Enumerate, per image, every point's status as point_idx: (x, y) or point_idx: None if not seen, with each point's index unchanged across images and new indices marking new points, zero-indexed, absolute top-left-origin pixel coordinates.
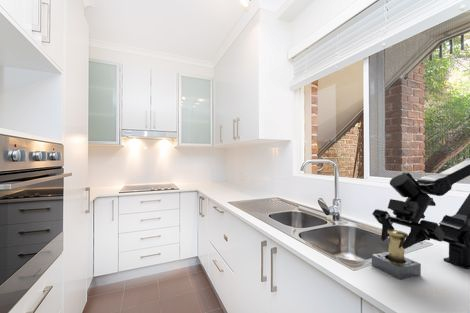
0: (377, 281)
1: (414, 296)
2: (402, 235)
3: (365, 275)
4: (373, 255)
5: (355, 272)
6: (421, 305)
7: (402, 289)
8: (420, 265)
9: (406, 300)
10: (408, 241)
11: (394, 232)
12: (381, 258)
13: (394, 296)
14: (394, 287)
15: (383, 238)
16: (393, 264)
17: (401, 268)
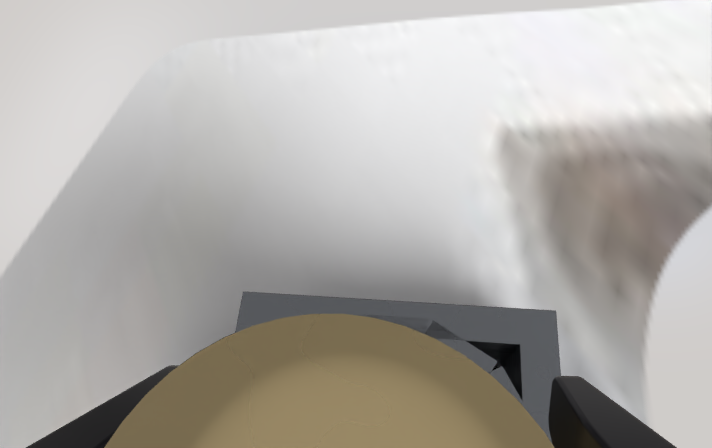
0: (336, 165)
1: (141, 222)
2: (119, 437)
3: (420, 155)
4: (533, 310)
5: (474, 126)
6: (93, 176)
7: (210, 228)
8: None
9: (153, 147)
10: (50, 434)
11: (318, 421)
12: (446, 323)
13: (202, 122)
14: (246, 202)
15: (559, 411)
16: (307, 305)
17: (241, 317)
